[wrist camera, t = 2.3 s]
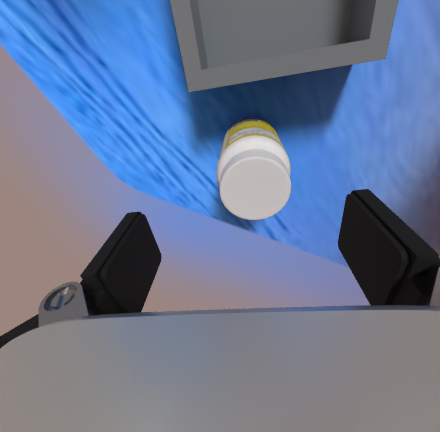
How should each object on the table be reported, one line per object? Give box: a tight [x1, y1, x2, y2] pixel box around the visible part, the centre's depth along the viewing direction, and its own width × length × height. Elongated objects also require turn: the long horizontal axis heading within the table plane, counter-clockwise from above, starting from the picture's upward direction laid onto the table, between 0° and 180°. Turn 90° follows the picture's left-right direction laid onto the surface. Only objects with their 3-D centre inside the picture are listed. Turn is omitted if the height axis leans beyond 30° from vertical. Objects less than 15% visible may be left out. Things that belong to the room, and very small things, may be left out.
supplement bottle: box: [217, 117, 291, 220], centre depth 16 cm, size 5×5×8 cm
